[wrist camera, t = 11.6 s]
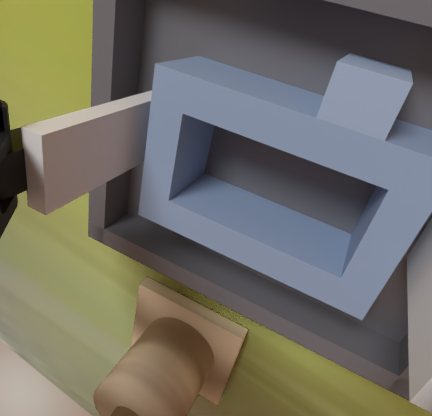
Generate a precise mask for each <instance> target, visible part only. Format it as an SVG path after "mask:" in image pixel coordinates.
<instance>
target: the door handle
mask: <svg viewBox="0 0 432 416" xmlns="http://www.w3.org/2000/svg"><path fill="white" fill-rule="evenodd" d="M247 332H248V329H246V328H244V327H243V326H241V325H239V324H237V323H235V322H233V321H231V320H229V319H227V318H225V317H223V316H221V315H220V314H218V313H216V312H214V311H212V310H210V309H208V308H206V307H204V306H202V305H200V304H198V303H197V302H195V301H193V300H191V299H189V298H187V297H185V296H183V295H181V294H179V293H177V292H175V291H174V290H172V289H170V288H168V287H166V286H164V285H162V284H160V283H158V282H156V281H154V280H152V279H151V278H149V277H146V278H145V279H144V280H143V281H142V282H141V283H140V284H139V292H138V299H137V307H136V315H135V322H134V330H133V338H132V345H131V348H130V349H129V350H128V352H127V353H126V354H125V355H124V356H123V358H122V359H121V360H120V361H119V363H118V364H117V365H116V366H115V367H114V369H113V370H112V371H111V372H110V373H109V375H108V376H107V377H106V378H105V379H104V381H103V382H102V383H101V384H100V385H99V387H98V388H97V389H96V390H95V392H94V403H95V406H96V409H97V411H98V413H99V414H100V416H187V414H188V412H189V410H190V409H191V407H192V405H193V403H194V401H195V399H196V398H197V396H198V394H199V395H201V396H202V397H204V398H206V399H207V400H209V401H211V402H212V403H214V404H216V405H218V403H219V401H220V399H221V397H222V395H223V392H224V390H225V387H226V385H227V382H228V380H229V377H230V375H231V372H232V370H233V367H234V364H235V362H236V359H237V357H238V354H239V352H240V349H241V347H242V344H243V342H244V339H245V337H246V334H247Z"/></svg>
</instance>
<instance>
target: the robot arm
mask: <svg viewBox="0 0 432 416" xmlns="http://www.w3.org/2000/svg"><path fill="white" fill-rule="evenodd" d="M151 96H152V90H151V91H147V92H144V93H140V94H137V95H133V96H129V97H126V98H122V99H119V100H115V101H111V102H108V103H104V104H101V105H97V106H93V107H90V108H86V109H83V110H79V111H75V112H72V113H68V114H65V115H61V116H57V117H54V118H50V119H47V120H43V121H39V122H36V123H32V124H29V125H25V126H21V128H17V129H13V130H10V124H9V114H8V105H7V103H6V102H5V101H2V100H0V238H1V236H2V234H3V232H4V230H5V228H6V226H7V224H8V222H9V220H10V219H11V217H12V215H13V213H14V211H15V209H16V207H17V203H18V200H17V194H19V193H22V192H24V191H26V190H27V200H28V206H29V207H31V208H33V209H35V210H37V211H39V212H41V213H43V214H45V215H47V214H49V213H51V212H53V211H55V210H56V209H58V208H60V207H62V206H64V205H66V204H67V203H69V202H71V201H73V200H75V199H77V198H78V197H80V196H82V195H84V194H86V193H88V192H89V191H91V190H93V189H95V188H97V187H99V186H100V185H102V184H104V183H106V182H108V181H110V180H111V179H113V178H115V177H117V176H119V175H121V174H122V173H124V172H126V171H128V170H130V169H132V168H133V167H135V166H137V165H139V164H141V163H143V162H144V158H145V150H146V141H147V132H148V123H149V114H150V105H151ZM407 295H408V350H409V402H410V403H412V404H414V405H416V406H418V407H420V408H422V409H424V410H426V411H428V412H430V413H432V218H431V220H430V221H429V223H428V224H427V226H426V228H425V229H424V231H423V232H422V234H421V235H420V237H419V238H418V240H417V241H416V243H415V244H414V246H413V248H412V249H411V251H410V252H409V254H408V255H407Z"/></svg>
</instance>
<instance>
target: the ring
mask: <svg viewBox="0 0 432 416" xmlns="http://www.w3.org/2000/svg"><path fill="white" fill-rule="evenodd" d="M412 85H413V79H412V74H411V70H410V69H407V68H403V67H399V66H396V65H392V64H389V63H385V62H382V61H378V60H375V59H371V58H368V57H364V56H361V55H357V54H353V53H350V54H348V55H346V56H345V57H343V58H341V59H340V60H338V61H337V63H336V65H335V68H334V71H333V74H332V76H331V79H330V82H329V84H328V87H327V90H326V92H325V95H324V96H323V95H319V94H316V93H313V92H310V91H307V90H304V89H301V88H298V87H294V86H291V85H288V84H285V83H282V82H279V81H276V80H273V79H269V78H266V77H263V76H260V75H257V74H254V73H251V72H248V71H244V70H241V69H238V68H235V67H232V66H229V65H226V64H223V63H219V62H216V61H213V60H210V59H207V58H204V57H201V56H195V57H190V58H184V59H178V60H172V61H167V62H161V63H155V69H154V78H153V87H152V96H151V105H150V114H149V123H148V132H147V141H146V150H145V158H144V167H143V176H142V185H141V194H140V203H139V212H138V215H140V216H142V217H144V218H146V219H149V220H151V221H153V222H155V223H157V224H159V225H161V226H163V227H165V228H168V229H170V230H172V231H174V232H176V233H178V234H180V235H182V236H184V237H187V238H189V239H191V240H193V241H195V242H197V243H199V244H201V245H204V246H206V247H208V248H210V249H212V250H214V251H216V252H218V253H220V254H223V255H225V256H227V257H229V258H231V259H233V260H235V261H237V262H239V263H242V264H244V265H246V266H248V267H250V268H252V269H254V270H256V271H259V272H261V273H263V274H265V275H267V276H269V277H271V278H273V279H275V280H278V281H280V282H282V283H284V284H286V285H288V286H290V287H292V288H294V289H297V290H299V291H301V292H303V293H305V294H307V295H309V296H311V297H314V298H316V299H318V300H320V301H322V302H324V303H326V304H328V305H330V306H333V307H335V308H337V309H339V310H341V311H343V312H345V313H347V314H350V315H352V316H354V317H356V318H358V319H360V320H363V318H364V317H365V315H366V314H367V312H368V310H369V309H370V307H371V306H372V304H373V303H374V301H375V300H376V298H377V296H378V295H379V293H380V292H381V290H382V289H383V287H384V286H385V284H386V282H387V281H388V279H389V278H390V276H391V275H392V273H393V271H394V270H395V268H396V267H397V265H398V264H399V262H400V261H401V259H402V257H403V256H404V254H405V253H406V251H407V250H408V248H409V247H410V245H411V243H412V242H413V240H414V239H415V237H416V236H417V234H418V233H419V231H420V229H421V228H422V226H423V225H424V223H425V222H426V220H427V219H428V217H429V215H430V214H431V212H432V130H429V129H426V128H423V127H419V126H416V125H413V124H410V123H407V122H404V121H401V120H398V119H396V117H397V115H398V113H399V111H400V109H401V107H402V105H403V103H404V101H405V99H406V97H407V95H408V93H409V91H410V89H411V87H412ZM214 126H218V127H220V128H223V129H226V130H228V131H231V132H234V133H236V134H239V135H242V136H244V137H247V138H250V139H253V140H255V141H258V142H261V143H263V144H266V145H269V146H271V147H274V148H277V149H279V150H282V151H285V152H287V153H290V154H293V155H296V156H298V157H301V158H304V159H306V160H309V161H312V162H314V163H317V164H320V165H322V166H325V167H328V168H330V169H333V170H336V171H339V172H341V173H344V174H347V175H349V176H352V177H355V178H357V179H360V180H363V181H365V182H368V183H371V184H374V185H376V187H375V189H374V191H373V193H372V195H371V197H370V199H369V201H368V203H367V205H366V207H365V209H364V211H363V212H362V214H361V216H360V218H359V220H358V222H357V224H356V226H355V228H354V230H353V232H352V234H350V233H347V232H345V231H343V230H340V229H338V228H335V227H333V226H330V225H328V224H326V223H323V222H321V221H318V220H316V219H314V218H311V217H309V216H306V215H304V214H301V213H299V212H297V211H294V210H292V209H289V208H287V207H285V206H282V205H280V204H277V203H275V202H272V201H270V200H268V199H265V198H263V197H260V196H258V195H256V194H253V193H251V192H248V191H246V190H243V189H241V188H239V187H236V186H234V185H231V184H229V183H227V182H224V181H222V180H219V179H217V178H214V177H212V176H210V175H207V174H205V173H204V172H205V168H206V163H207V158H208V154H209V149H210V144H211V140H212V135H213V131H214Z"/></svg>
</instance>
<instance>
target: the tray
mask: <svg viewBox="0 0 432 416" xmlns="http://www.w3.org/2000/svg"><path fill="white" fill-rule="evenodd" d="M350 53H353V54H357V55H361V56H364V57H368V58H371V59H375V60H378V61H382V62H385V63H389V64H392V65H396V66H399V67H403V68H407V69H410V70H411V74H412V79H413V85H412V87H411V89H410V91H409V93H408V95H407V97H406V99H405V101H404V103H403V105H402V107H401V109H400V111H399V113H398V115H397V117H396V119H398V120H401V121H404V122H407V123H410V124H413V125H416V126H419V127H423V128H426V129H429V130H432V0H93V40H92V87H91V107H93V106H97V105H101V104H104V103H108V102H111V101H115V100H119V99H122V98H126V97H129V96H133V95H137V94H140V93H144V92H147V91H151V90H152V87H153V78H154V69H155V63H161V62H167V61H172V60H178V59H184V58H190V57H195V56H201V57H204V58H207V59H210V60H213V61H216V62H219V63H223V64H226V65H229V66H232V67H235V68H238V69H241V70H244V71H248V72H251V73H254V74H257V75H260V76H263V77H266V78H269V79H273V80H276V81H279V82H282V83H285V84H288V85H291V86H294V87H298V88H301V89H304V90H307V91H310V92H313V93H316V94H319V95H323V96H324V95H325V92H326V90H327V87H328V84H329V82H330V79H331V76H332V74H333V71H334V68H335V65H336V63H337V61H338V60H340V59H341V58H343V57H345V56H346V55H348V54H350ZM143 167H144V162H143V163H141V164H139V165H137V166H135V167H133V168H132V169H130V170H128V171H126V172H124V173H122V174H121V175H119V176H117V177H115V178H113V179H111V180H110V181H108V182H106V183H104V184H102V185H100V186H99V187H97V188H95V189H93V190H91V191H89V225H88V236H89V237H91V238H93V239H95V240H97V241H99V242H101V243H103V244H105V245H107V246H109V247H111V248H112V249H114V250H116V251H118V252H120V253H122V254H124V255H126V256H128V257H130V258H132V259H134V260H136V261H138V262H140V263H142V264H144V265H146V266H148V267H149V268H151V269H153V270H155V271H157V272H159V273H161V274H163V275H165V276H167V277H169V278H171V279H173V280H175V281H177V282H179V283H181V284H183V285H185V286H187V287H188V288H190V289H192V290H194V291H196V292H198V293H200V294H202V295H204V296H206V297H208V298H210V299H212V300H214V301H216V302H218V303H220V304H222V305H224V306H226V307H227V308H229V309H231V310H233V311H235V312H237V313H239V314H241V315H243V316H245V317H247V318H249V319H251V320H253V321H255V322H257V323H259V324H261V325H263V326H265V327H266V328H268V329H270V330H272V331H274V332H276V333H278V334H280V335H282V336H284V337H286V338H288V339H290V340H292V341H294V342H296V343H298V344H300V345H302V346H303V347H305V348H307V349H309V350H311V351H313V352H315V353H317V354H319V355H321V356H323V357H325V358H327V359H329V360H331V361H333V362H335V363H337V364H339V365H341V366H342V367H344V368H346V369H348V370H350V371H352V372H354V373H356V374H358V375H360V376H362V377H364V378H366V379H368V380H370V381H372V382H374V383H376V384H378V385H380V386H381V387H383V388H385V389H387V390H389V391H391V392H393V393H395V394H397V395H399V396H401V397H403V398H405V399H407V400H409V350H408V295H407V255H408V254H409V252H410V251H411V249H412V248H413V246H414V244H415V243H416V241H417V240H418V238H419V237H420V235H421V234H422V232H423V231H424V229H425V228H426V226H427V224H428V223H429V221H430V220H431V218H432V212H431V214H430V215H429V217H428V219H427V220H426V222H425V223H424V225H423V226H422V228H421V229H420V231H419V233H418V234H417V236H416V237H415V239H414V240H413V242H412V243H411V245H410V247H409V248H408V250H407V251H406V253H405V254H404V256H403V257H402V259H401V261H400V262H399V264H398V265H397V267H396V268H395V270H394V271H393V273H392V275H391V276H390V278H389V279H388V281H387V282H386V284H385V286H384V287H383V289H382V290H381V292H380V293H379V295H378V296H377V298H376V300H375V301H374V303H373V304H372V306H371V307H370V309H369V310H368V312H367V314H366V315H365V317H364V318H363V320H360V319H358V318H356V317H354V316H352V315H350V314H347V313H345V312H343V311H341V310H339V309H337V308H335V307H333V306H330V305H328V304H326V303H324V302H322V301H320V300H318V299H316V298H314V297H311V296H309V295H307V294H305V293H303V292H301V291H299V290H297V289H294V288H292V287H290V286H288V285H286V284H284V283H282V282H280V281H278V280H275V279H273V278H271V277H269V276H267V275H265V274H263V273H261V272H259V271H256V270H254V269H252V268H250V267H248V266H246V265H244V264H242V263H239V262H237V261H235V260H233V259H231V258H229V257H227V256H225V255H223V254H220V253H218V252H216V251H214V250H212V249H210V248H208V247H206V246H204V245H201V244H199V243H197V242H195V241H193V240H191V239H189V238H187V237H184V236H182V235H180V234H178V233H176V232H174V231H172V230H170V229H168V228H165V227H163V226H161V225H159V224H157V223H155V222H153V221H151V220H149V219H146V218H144V217H142V216H140V215H138V212H139V203H140V194H141V185H142V176H143ZM204 173H205V174H207V175H210V176H212V177H214V178H217V179H219V180H222V181H224V182H227V183H229V184H231V185H234V186H236V187H239V188H241V189H243V190H246V191H248V192H251V193H253V194H256V195H258V196H260V197H263V198H265V199H268V200H270V201H272V202H275V203H277V204H280V205H282V206H285V207H287V208H289V209H292V210H294V211H297V212H299V213H301V214H304V215H306V216H309V217H311V218H314V219H316V220H318V221H321V222H323V223H326V224H328V225H330V226H333V227H335V228H338V229H340V230H343V231H345V232H347V233H350V234H352V232H353V230H354V228H355V226H356V224H357V222H358V220H359V218H360V216H361V214H362V212H363V211H364V209H365V207H366V205H367V203H368V201H369V199H370V197H371V195H372V193H373V191H374V189H375V187H376V185H374V184H371V183H368V182H365V181H363V180H360V179H357V178H355V177H352V176H349V175H347V174H344V173H341V172H339V171H336V170H333V169H330V168H328V167H325V166H322V165H320V164H317V163H314V162H312V161H309V160H306V159H304V158H301V157H298V156H296V155H293V154H290V153H287V152H285V151H282V150H279V149H277V148H274V147H271V146H269V145H266V144H263V143H261V142H258V141H255V140H253V139H250V138H247V137H244V136H242V135H239V134H236V133H234V132H231V131H228V130H226V129H223V128H220V127H218V126H214V131H213V135H212V140H211V144H210V149H209V154H208V158H207V163H206V168H205V172H204Z"/></svg>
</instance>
